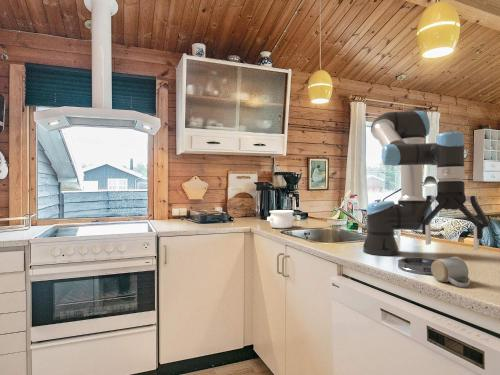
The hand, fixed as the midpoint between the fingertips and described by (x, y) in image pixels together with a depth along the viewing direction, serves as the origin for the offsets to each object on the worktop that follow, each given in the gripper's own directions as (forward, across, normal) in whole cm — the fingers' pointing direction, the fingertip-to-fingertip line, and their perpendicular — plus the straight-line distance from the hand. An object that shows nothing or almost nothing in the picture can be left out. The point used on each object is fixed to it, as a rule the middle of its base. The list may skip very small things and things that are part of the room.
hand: (451, 246), depth 104 cm
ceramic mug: (+12, 0, 0) cm, 12 cm away
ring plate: (+11, -12, +10) cm, 20 cm away
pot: (+10, -124, +58) cm, 138 cm away
